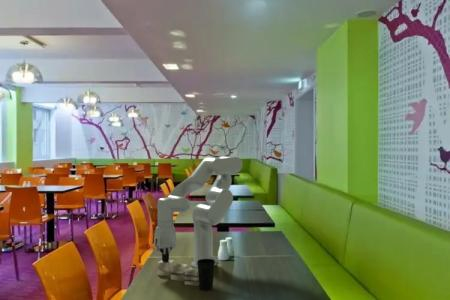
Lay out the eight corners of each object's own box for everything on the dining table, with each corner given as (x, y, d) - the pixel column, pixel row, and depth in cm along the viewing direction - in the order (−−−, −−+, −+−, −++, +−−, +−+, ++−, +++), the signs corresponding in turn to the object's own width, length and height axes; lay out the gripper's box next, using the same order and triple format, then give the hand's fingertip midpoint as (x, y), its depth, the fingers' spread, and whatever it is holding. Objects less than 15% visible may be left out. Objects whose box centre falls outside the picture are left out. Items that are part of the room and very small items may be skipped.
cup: (214, 285, 188) (214, 258, 187) (214, 291, 180) (214, 263, 180) (197, 285, 187) (197, 258, 187) (196, 291, 180) (196, 263, 179)
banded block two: (202, 281, 193) (202, 268, 193) (197, 286, 187) (197, 272, 187) (190, 280, 195) (190, 267, 195) (184, 284, 189) (184, 271, 189)
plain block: (174, 272, 206) (174, 260, 206) (168, 276, 200) (168, 263, 200) (163, 271, 208) (163, 259, 208) (157, 275, 202) (157, 262, 202)
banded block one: (188, 277, 200) (188, 264, 199) (182, 281, 194) (182, 268, 193) (176, 275, 202) (175, 263, 201) (170, 279, 196) (170, 266, 196)
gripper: (174, 220, 212) (173, 257, 212) (147, 224, 202) (147, 262, 202) (182, 222, 206) (182, 260, 206) (156, 226, 196) (156, 266, 196)
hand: (165, 261), depth 204 cm, fingers closed
